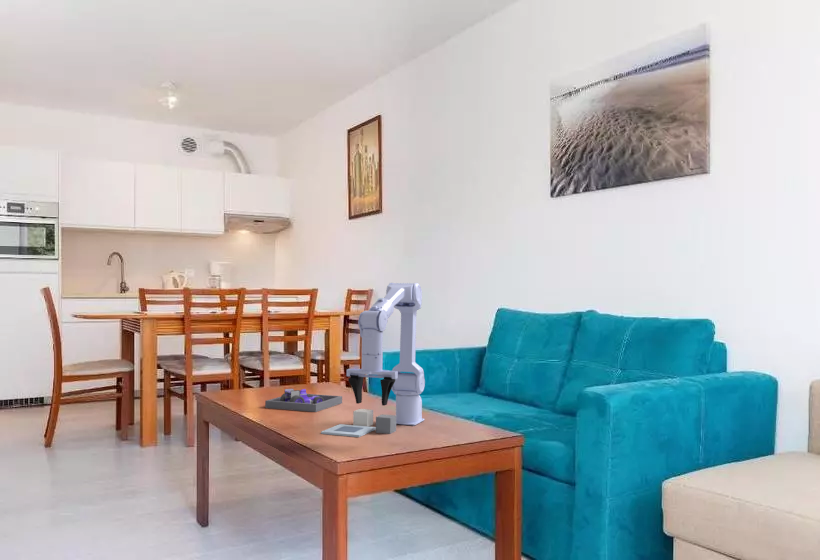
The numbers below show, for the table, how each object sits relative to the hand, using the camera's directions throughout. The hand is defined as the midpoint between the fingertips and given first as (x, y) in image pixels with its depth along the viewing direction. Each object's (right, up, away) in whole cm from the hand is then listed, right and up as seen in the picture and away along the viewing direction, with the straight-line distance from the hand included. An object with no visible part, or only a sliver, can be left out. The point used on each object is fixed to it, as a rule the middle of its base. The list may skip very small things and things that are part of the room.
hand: (371, 404), depth 180 cm
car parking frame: (-27, -11, +56) cm, 63 cm away
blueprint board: (-7, -10, +12) cm, 17 cm away
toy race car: (-27, -12, +56) cm, 63 cm away
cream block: (-4, -11, +21) cm, 24 cm away
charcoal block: (+4, -11, +12) cm, 17 cm away
